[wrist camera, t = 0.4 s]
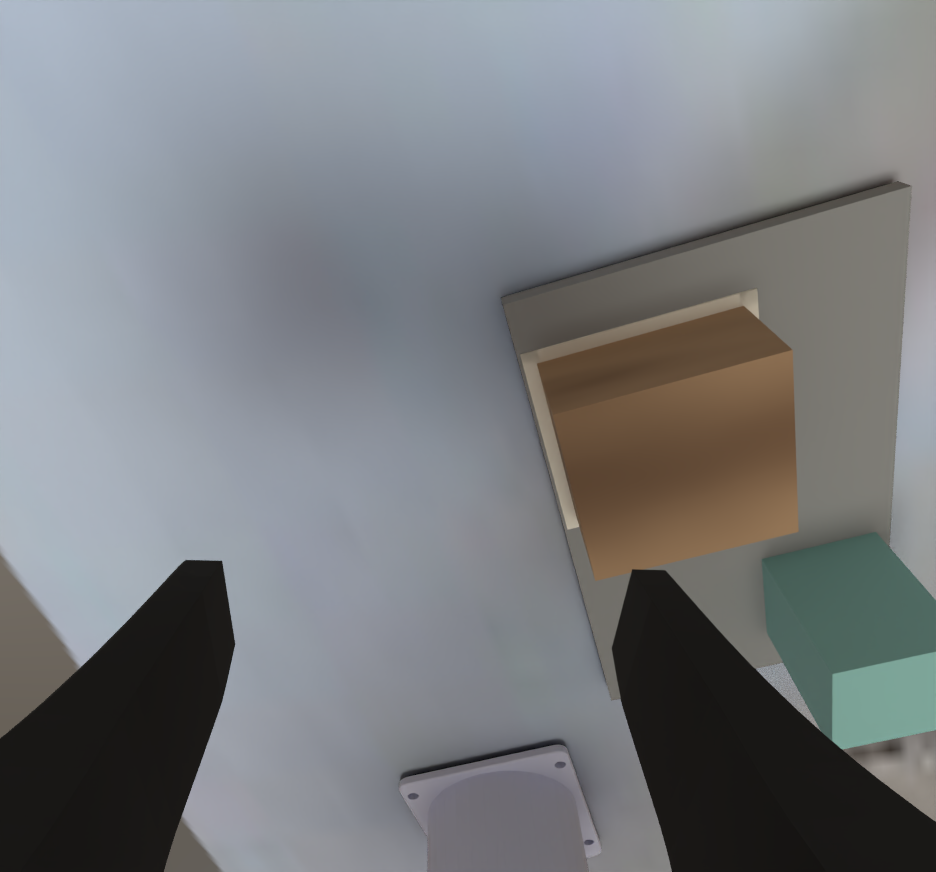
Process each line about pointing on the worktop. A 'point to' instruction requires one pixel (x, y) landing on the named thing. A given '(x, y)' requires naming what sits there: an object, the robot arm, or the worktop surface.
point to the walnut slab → (677, 441)
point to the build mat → (814, 368)
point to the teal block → (855, 638)
